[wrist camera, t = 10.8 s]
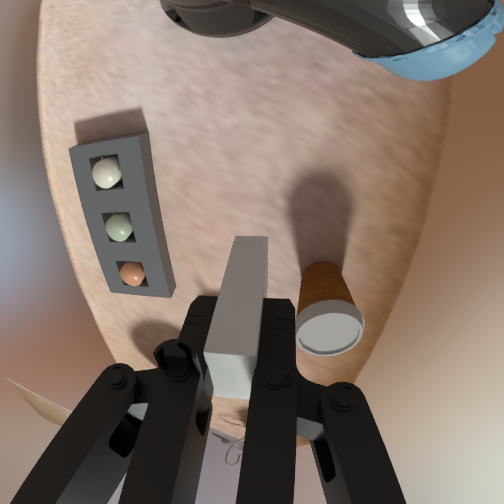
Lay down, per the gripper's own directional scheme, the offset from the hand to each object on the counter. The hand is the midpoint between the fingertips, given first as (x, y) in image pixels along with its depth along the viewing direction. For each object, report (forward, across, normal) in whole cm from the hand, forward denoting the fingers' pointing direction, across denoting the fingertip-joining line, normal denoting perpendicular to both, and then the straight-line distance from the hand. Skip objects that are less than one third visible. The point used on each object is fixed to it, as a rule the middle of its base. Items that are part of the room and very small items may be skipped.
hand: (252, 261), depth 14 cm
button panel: (+24, -22, -10) cm, 34 cm away
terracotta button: (+24, -22, -19) cm, 38 cm away
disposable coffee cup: (+25, +8, -20) cm, 33 cm away
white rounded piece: (+24, -22, -1) cm, 33 cm away
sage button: (+24, -22, -10) cm, 34 cm away
